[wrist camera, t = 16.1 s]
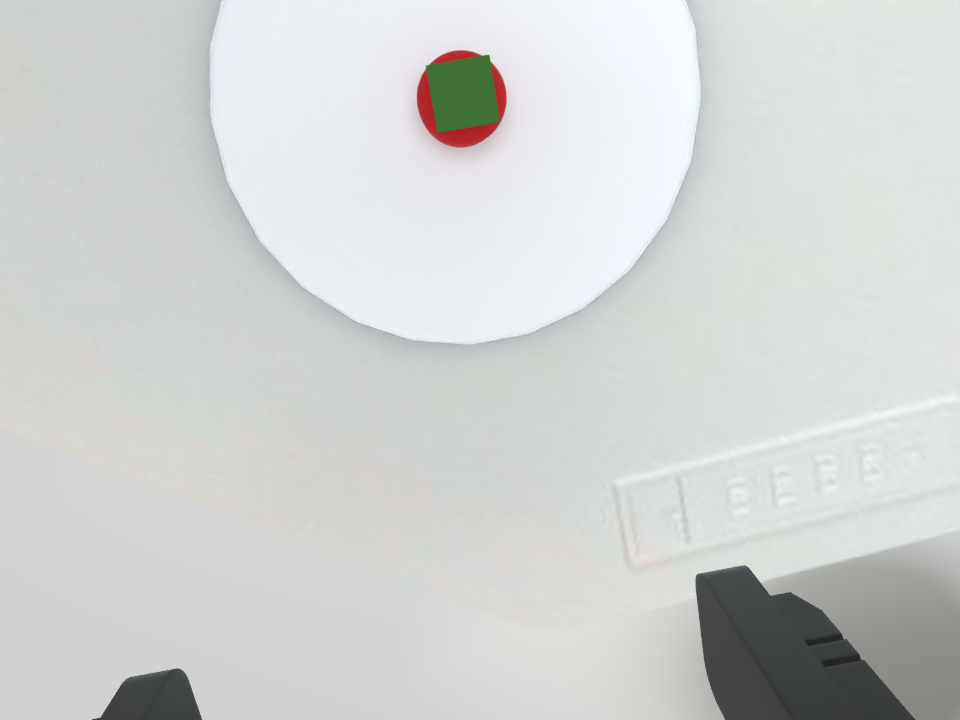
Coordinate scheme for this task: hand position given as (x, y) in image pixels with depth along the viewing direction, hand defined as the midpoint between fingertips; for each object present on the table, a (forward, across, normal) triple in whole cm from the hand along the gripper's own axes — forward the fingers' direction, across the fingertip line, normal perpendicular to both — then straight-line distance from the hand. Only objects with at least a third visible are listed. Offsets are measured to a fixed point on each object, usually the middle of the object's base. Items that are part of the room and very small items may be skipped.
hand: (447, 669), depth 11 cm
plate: (+30, -3, -10) cm, 32 cm away
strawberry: (+29, -3, -10) cm, 31 cm away
